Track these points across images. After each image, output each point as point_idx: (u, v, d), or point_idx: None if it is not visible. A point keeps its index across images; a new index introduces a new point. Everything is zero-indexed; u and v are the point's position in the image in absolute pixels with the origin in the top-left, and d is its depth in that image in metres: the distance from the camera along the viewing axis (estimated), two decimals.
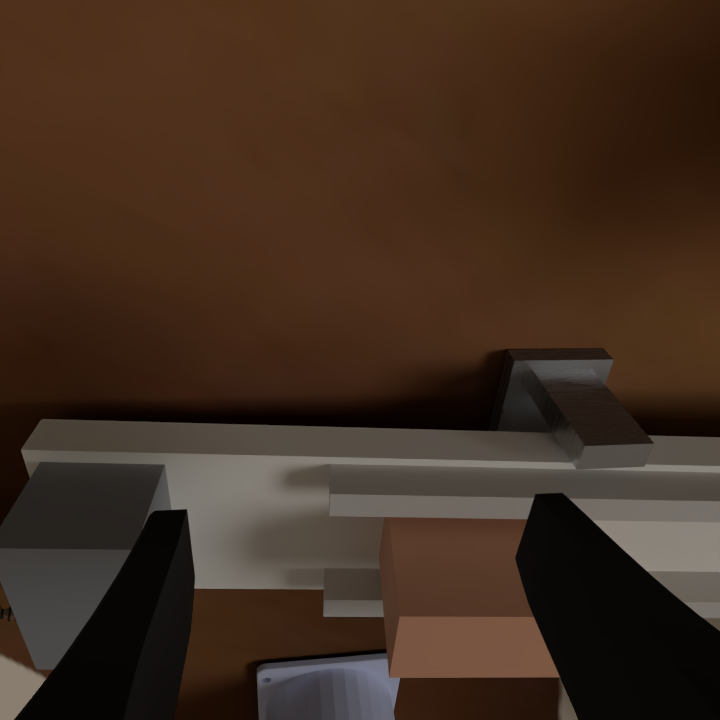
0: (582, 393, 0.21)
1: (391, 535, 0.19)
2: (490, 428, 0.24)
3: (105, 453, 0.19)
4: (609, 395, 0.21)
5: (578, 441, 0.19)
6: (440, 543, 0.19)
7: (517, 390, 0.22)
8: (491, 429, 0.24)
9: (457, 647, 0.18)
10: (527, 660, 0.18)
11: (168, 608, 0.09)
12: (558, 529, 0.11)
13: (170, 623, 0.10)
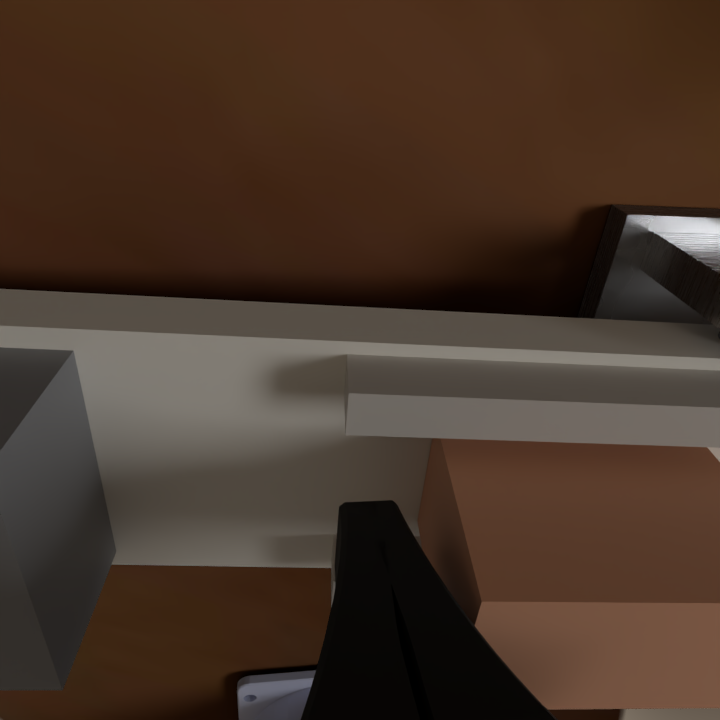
0: None
1: (449, 471, 0.12)
2: None
3: None
4: None
5: None
6: (531, 483, 0.11)
7: (626, 267, 0.15)
8: None
9: (575, 658, 0.10)
10: (689, 680, 0.11)
11: None
12: None
13: None
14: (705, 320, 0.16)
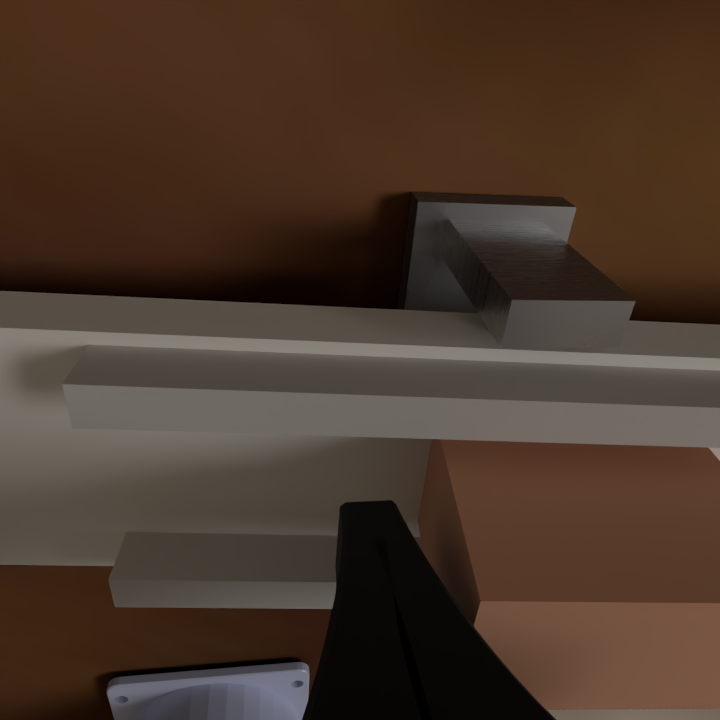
0: (521, 244, 0.13)
1: (449, 470, 0.12)
2: None
3: None
4: (565, 248, 0.13)
5: (502, 296, 0.11)
6: (531, 483, 0.11)
7: (427, 256, 0.14)
8: None
9: (575, 657, 0.10)
10: (689, 681, 0.11)
11: None
12: None
13: None
14: None
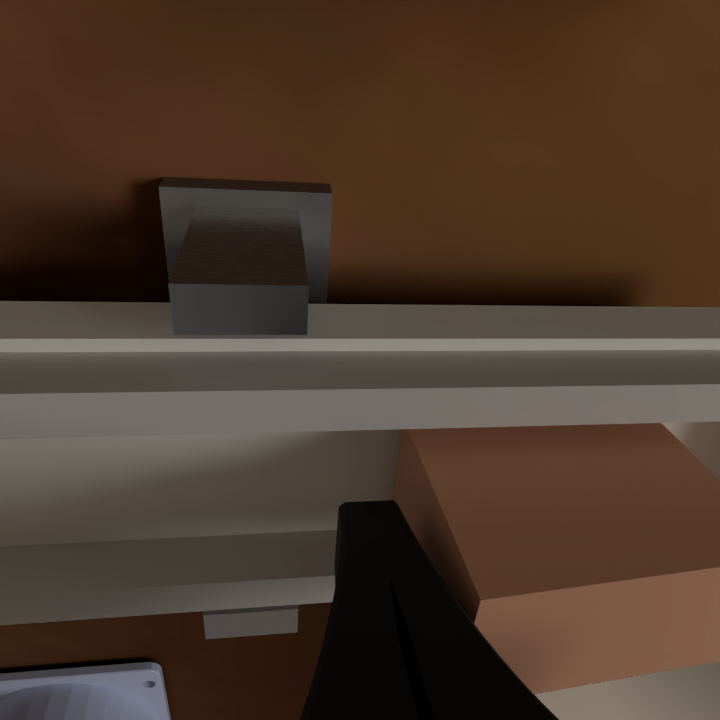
0: (247, 229, 0.12)
1: (426, 470, 0.12)
2: None
3: None
4: (293, 234, 0.12)
5: (172, 280, 0.10)
6: (506, 474, 0.12)
7: None
8: None
9: (568, 640, 0.10)
10: (668, 645, 0.11)
11: None
12: None
13: None
14: None
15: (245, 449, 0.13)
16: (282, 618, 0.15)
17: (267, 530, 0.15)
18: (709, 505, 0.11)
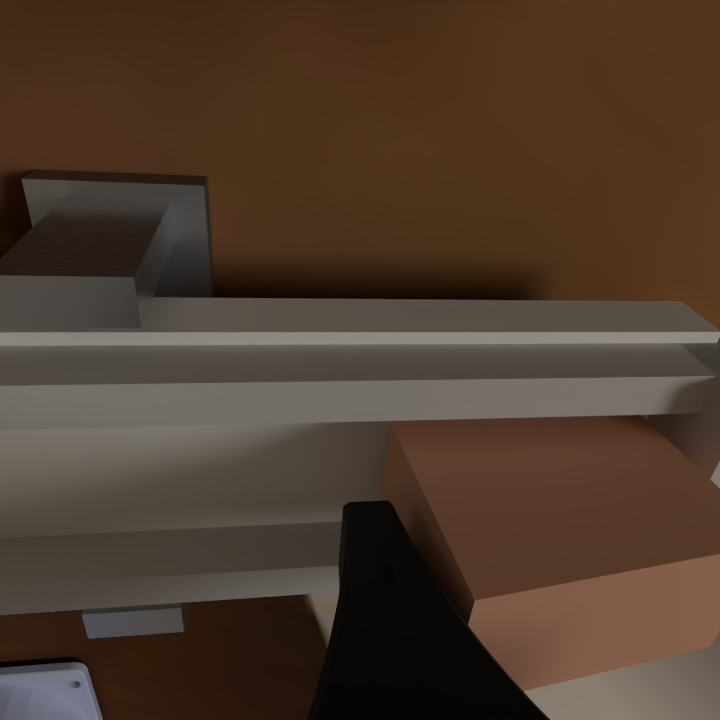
0: (103, 222, 0.12)
1: (414, 471, 0.11)
2: None
3: None
4: (149, 226, 0.12)
5: None
6: (494, 472, 0.12)
7: None
8: None
9: (560, 635, 0.10)
10: (656, 635, 0.11)
11: None
12: None
13: None
14: (184, 296, 0.15)
15: (109, 445, 0.13)
16: (166, 617, 0.15)
17: (145, 528, 0.14)
18: (692, 495, 0.11)
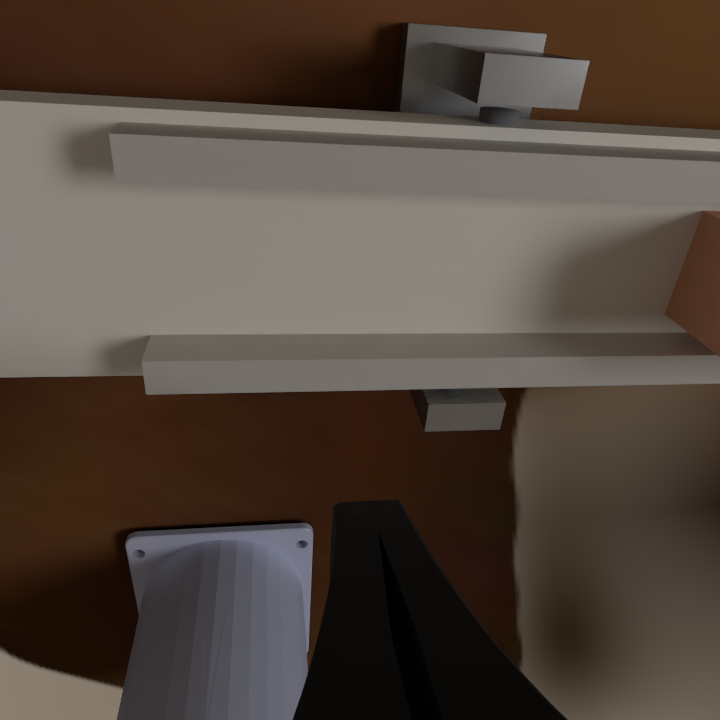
0: (497, 49, 0.15)
1: None
2: None
3: None
4: (535, 52, 0.15)
5: (478, 58, 0.13)
6: None
7: (417, 79, 0.17)
8: None
9: None
10: None
11: None
12: (378, 539, 0.11)
13: None
14: None
15: (485, 242, 0.16)
16: (490, 413, 0.18)
17: (484, 329, 0.17)
18: None
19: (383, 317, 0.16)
